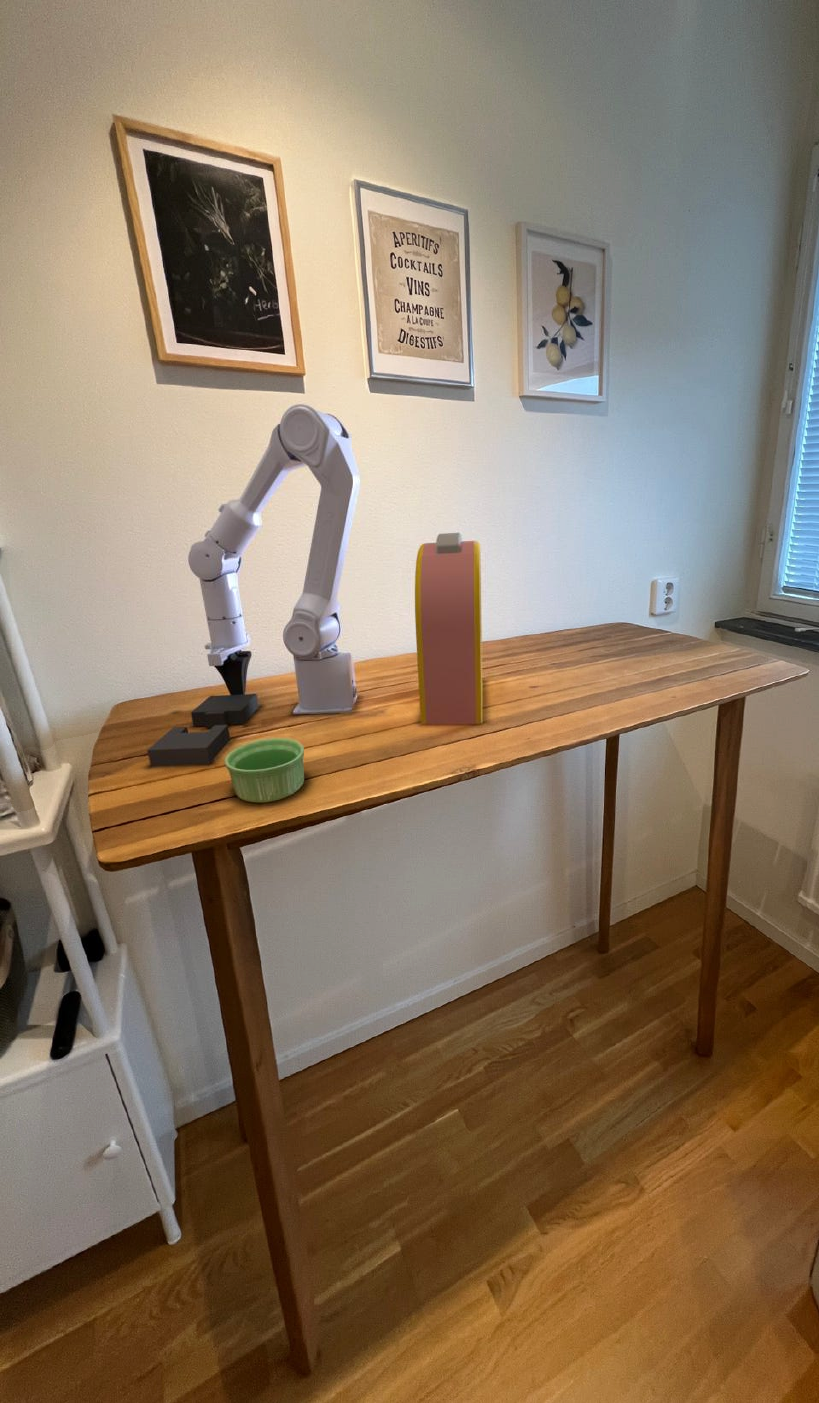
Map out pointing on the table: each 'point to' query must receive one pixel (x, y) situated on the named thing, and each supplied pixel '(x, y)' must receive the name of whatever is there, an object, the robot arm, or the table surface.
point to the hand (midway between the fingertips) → (238, 695)
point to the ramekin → (266, 769)
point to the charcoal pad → (188, 746)
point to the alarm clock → (449, 630)
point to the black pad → (225, 710)
